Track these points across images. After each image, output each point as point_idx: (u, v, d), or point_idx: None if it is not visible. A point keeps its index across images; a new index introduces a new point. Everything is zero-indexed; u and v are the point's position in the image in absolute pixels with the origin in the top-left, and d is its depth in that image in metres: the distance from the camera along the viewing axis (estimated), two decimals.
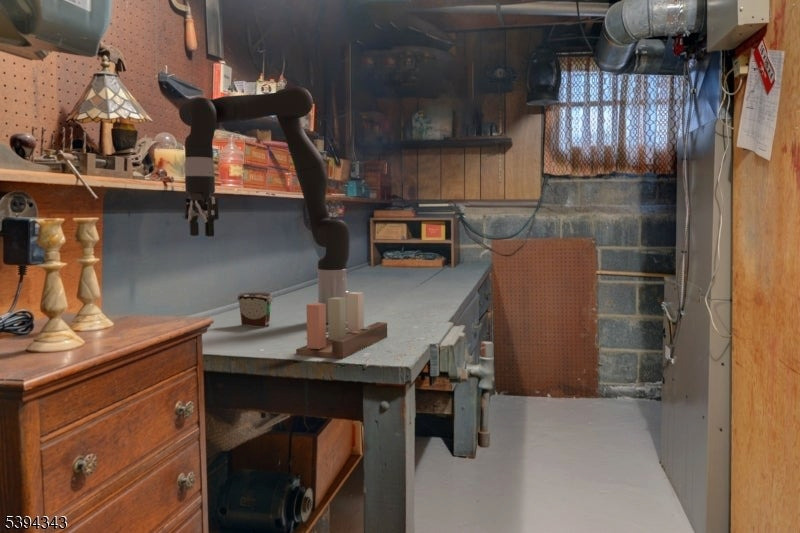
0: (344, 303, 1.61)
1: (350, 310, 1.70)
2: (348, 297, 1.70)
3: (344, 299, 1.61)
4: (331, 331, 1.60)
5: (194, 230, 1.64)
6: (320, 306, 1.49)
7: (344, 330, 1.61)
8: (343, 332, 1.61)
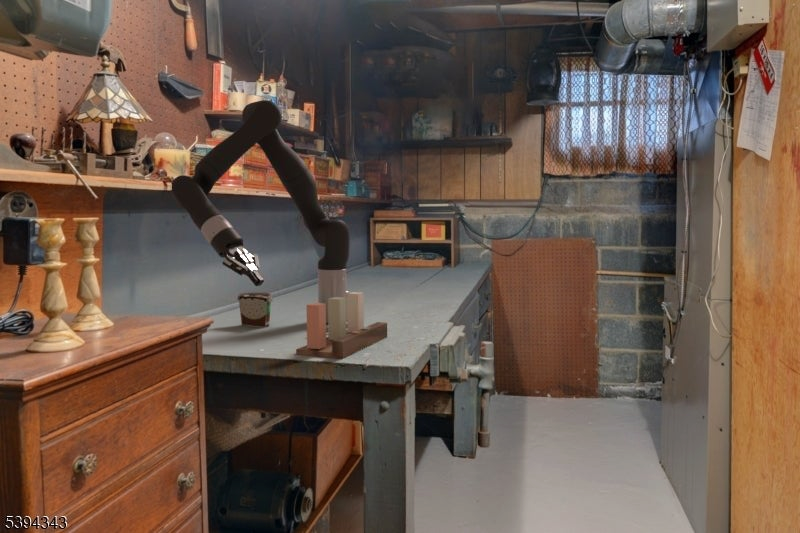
0: (344, 303, 1.61)
1: (350, 310, 1.70)
2: (348, 297, 1.70)
3: (344, 299, 1.61)
4: (331, 331, 1.60)
5: None
6: (320, 306, 1.49)
7: (344, 330, 1.61)
8: (343, 332, 1.61)
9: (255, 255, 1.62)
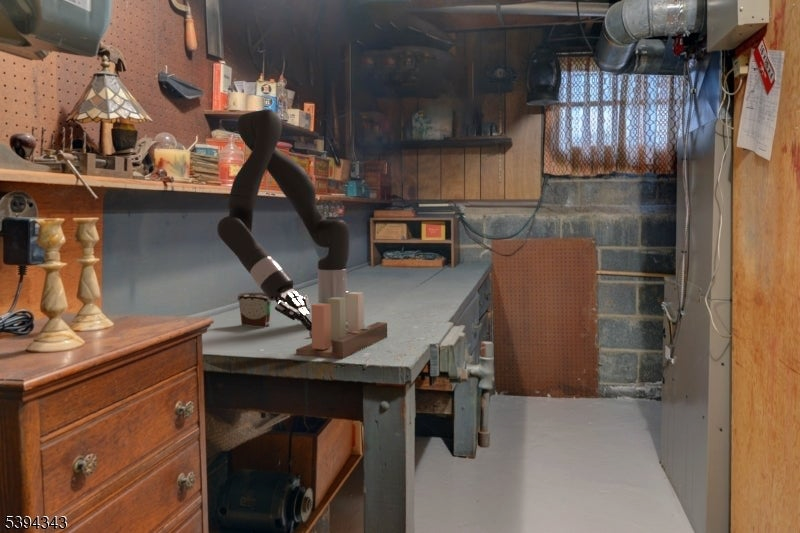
0: (344, 303, 1.61)
1: (350, 310, 1.70)
2: (348, 297, 1.70)
3: (344, 299, 1.61)
4: (331, 331, 1.60)
5: None
6: (325, 306, 1.49)
7: (344, 330, 1.61)
8: (343, 332, 1.61)
9: (305, 297, 1.57)
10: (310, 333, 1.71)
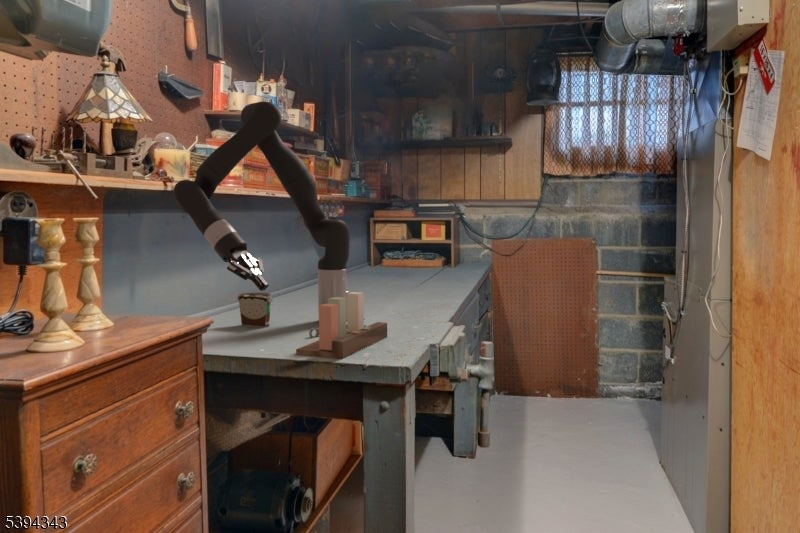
0: (344, 303, 1.61)
1: (350, 310, 1.70)
2: (348, 297, 1.70)
3: (344, 299, 1.61)
4: None
5: None
6: (333, 307, 1.48)
7: (344, 330, 1.61)
8: (343, 332, 1.61)
9: (259, 259, 1.62)
10: (310, 333, 1.71)
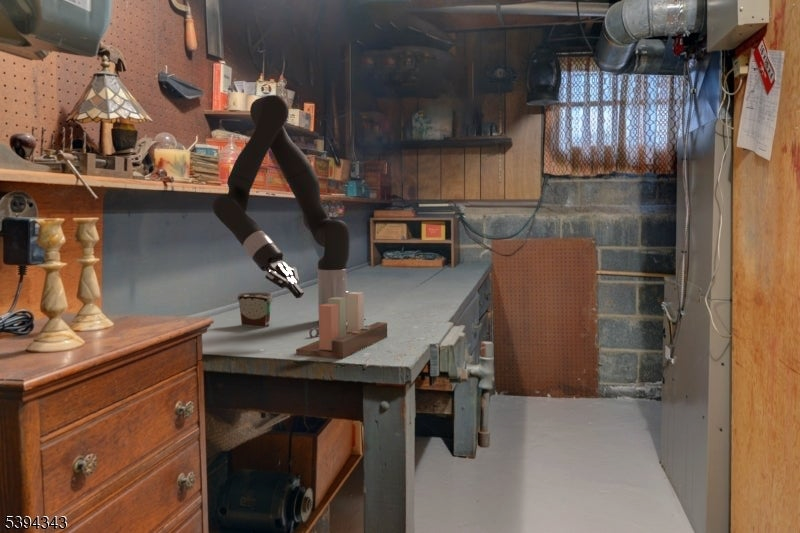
0: (344, 303, 1.61)
1: (350, 310, 1.70)
2: (348, 297, 1.70)
3: (344, 299, 1.61)
4: None
5: None
6: (333, 307, 1.48)
7: (344, 330, 1.61)
8: (343, 332, 1.61)
9: (294, 268, 1.71)
10: (310, 333, 1.71)
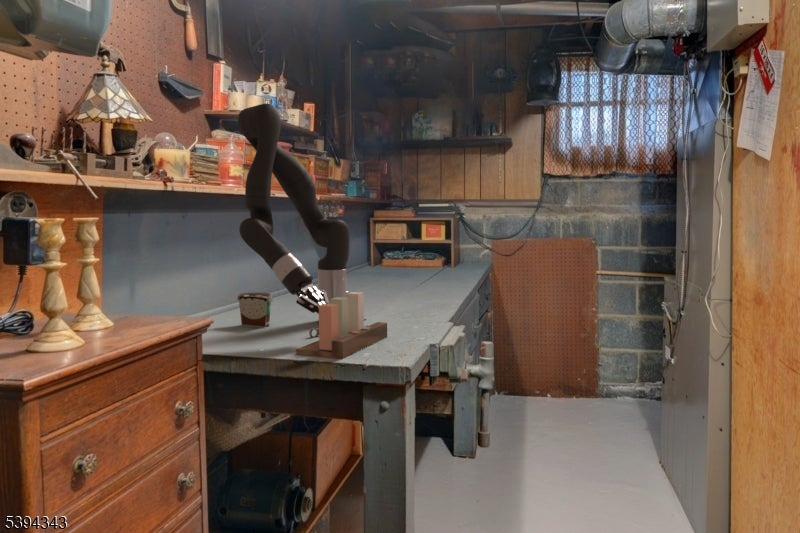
0: (346, 303, 1.61)
1: (350, 310, 1.70)
2: (348, 297, 1.70)
3: (346, 299, 1.61)
4: None
5: None
6: (333, 307, 1.48)
7: (346, 330, 1.61)
8: (345, 332, 1.61)
9: (324, 291, 1.68)
10: (310, 333, 1.70)
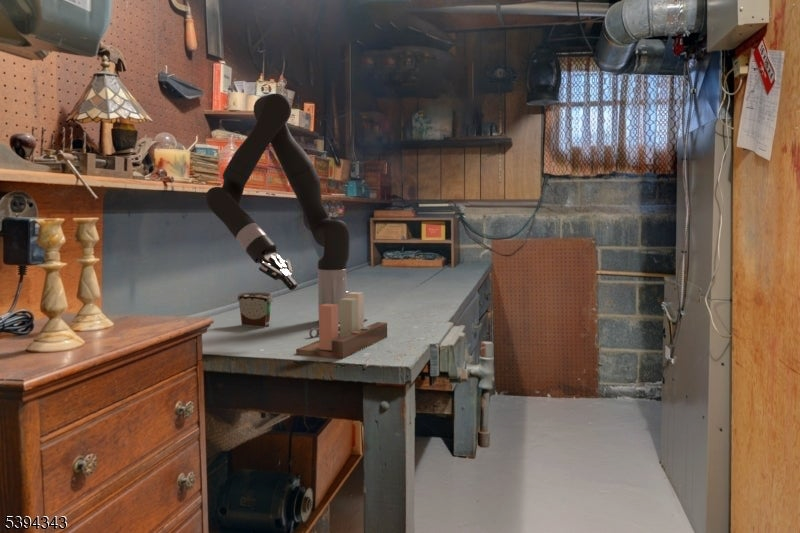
0: (356, 303, 1.60)
1: None
2: (348, 297, 1.70)
3: (356, 300, 1.60)
4: (343, 332, 1.59)
5: None
6: (333, 307, 1.48)
7: None
8: None
9: (287, 260, 1.71)
10: (310, 333, 1.70)
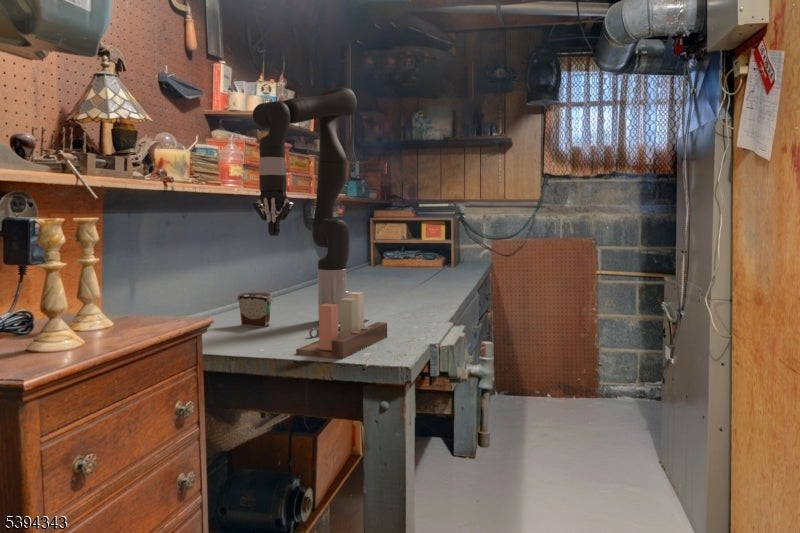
0: (356, 303, 1.60)
1: None
2: (348, 297, 1.70)
3: (356, 300, 1.60)
4: (343, 332, 1.59)
5: None
6: (333, 307, 1.48)
7: None
8: None
9: None
10: (310, 333, 1.70)
